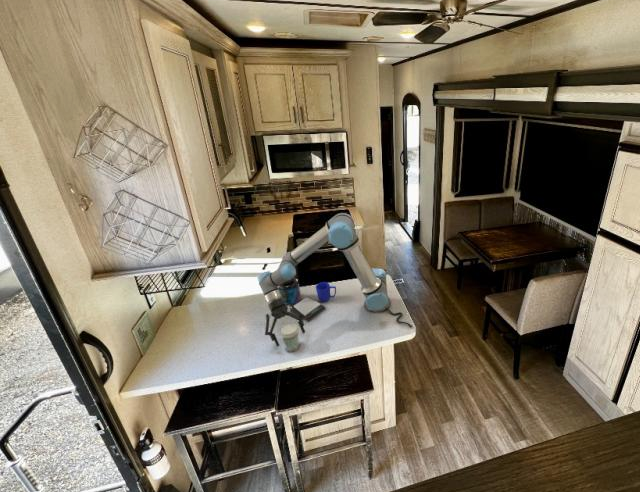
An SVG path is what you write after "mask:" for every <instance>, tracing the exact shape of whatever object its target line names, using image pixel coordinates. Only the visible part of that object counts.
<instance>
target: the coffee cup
mask: <svg viewBox="0 0 640 492" xmlns="http://www.w3.org/2000/svg"><path fill="white" fill-rule="evenodd" d="M299 331H300V329H299V327H298V325H297V324H295V323H288V324H286V325H284V326H282V327H281V330H280V336H281V337H282V340H283V343H284V346H285V348H286V351H287V352H289V353H291V352H295V351H297V350H298V349H299V345H300V343H299Z"/></svg>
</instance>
